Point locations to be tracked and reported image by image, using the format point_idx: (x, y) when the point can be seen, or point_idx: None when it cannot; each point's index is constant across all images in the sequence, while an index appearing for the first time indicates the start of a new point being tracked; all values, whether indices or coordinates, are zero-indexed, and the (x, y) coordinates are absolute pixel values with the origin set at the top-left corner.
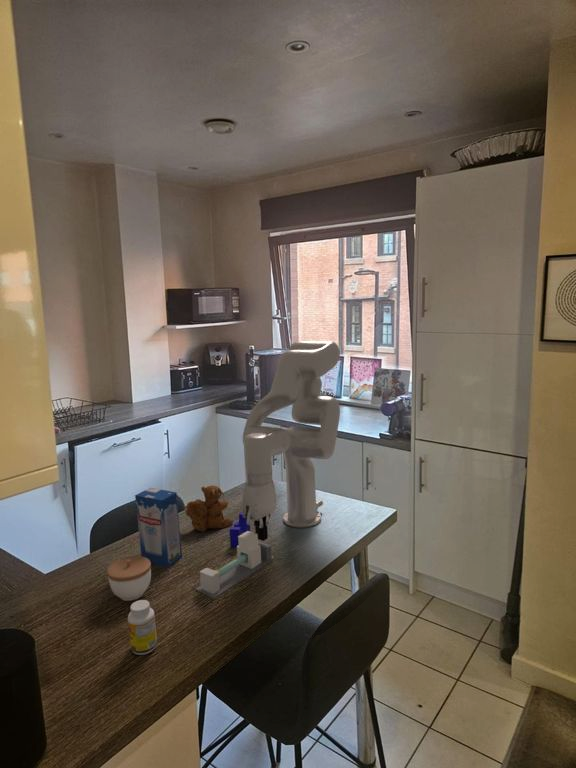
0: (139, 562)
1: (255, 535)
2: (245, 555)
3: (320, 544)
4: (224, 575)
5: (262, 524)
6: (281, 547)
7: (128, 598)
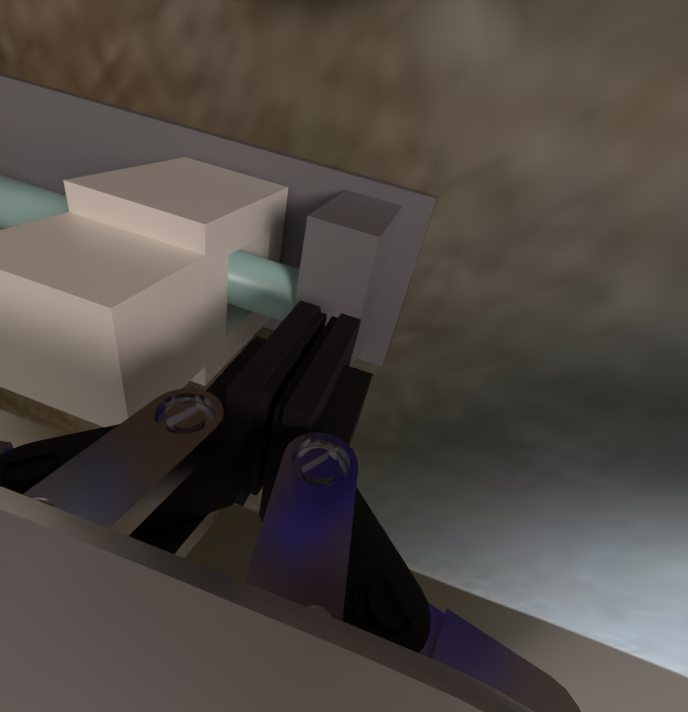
0: None
1: (101, 424)
2: None
3: (622, 554)
4: (47, 140)
5: (191, 530)
6: (548, 360)
7: None
